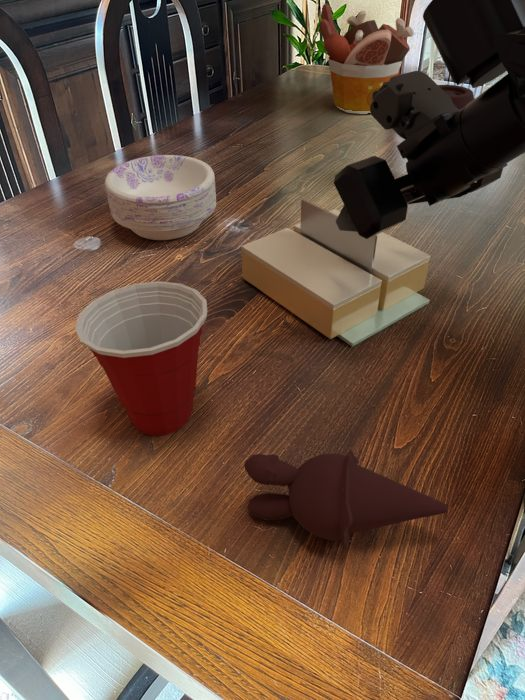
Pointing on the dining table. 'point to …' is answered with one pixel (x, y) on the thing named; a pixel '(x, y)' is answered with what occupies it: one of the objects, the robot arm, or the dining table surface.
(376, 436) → the dining table surface
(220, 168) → the dining table surface
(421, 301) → the slotted wooden block
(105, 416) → the dining table surface
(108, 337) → the plastic cup
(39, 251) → the dining table surface
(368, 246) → the slicer
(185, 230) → the paper bowls
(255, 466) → the icecream
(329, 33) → the bucket of meat
